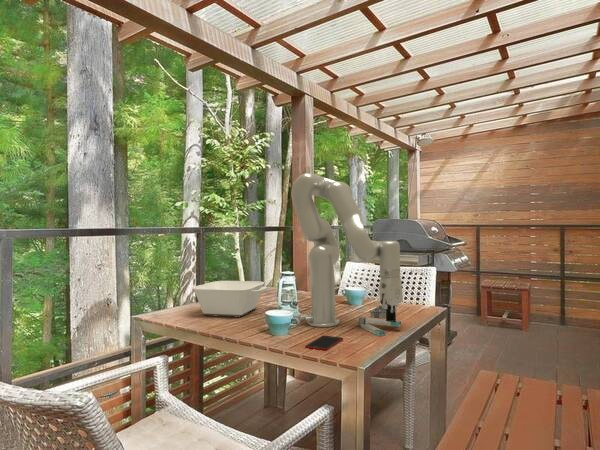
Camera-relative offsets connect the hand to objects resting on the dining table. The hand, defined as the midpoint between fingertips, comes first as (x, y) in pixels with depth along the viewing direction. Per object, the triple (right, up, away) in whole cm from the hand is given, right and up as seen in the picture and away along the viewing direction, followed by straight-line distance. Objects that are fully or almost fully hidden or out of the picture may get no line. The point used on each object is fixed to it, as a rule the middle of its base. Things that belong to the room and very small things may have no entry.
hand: (391, 322), depth 158 cm
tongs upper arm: (-3, 0, -1) cm, 3 cm away
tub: (-66, -4, +33) cm, 74 cm away
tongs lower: (-8, -2, -3) cm, 9 cm away
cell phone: (-26, -3, -19) cm, 32 cm away
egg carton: (+1, -3, +22) cm, 22 cm away
